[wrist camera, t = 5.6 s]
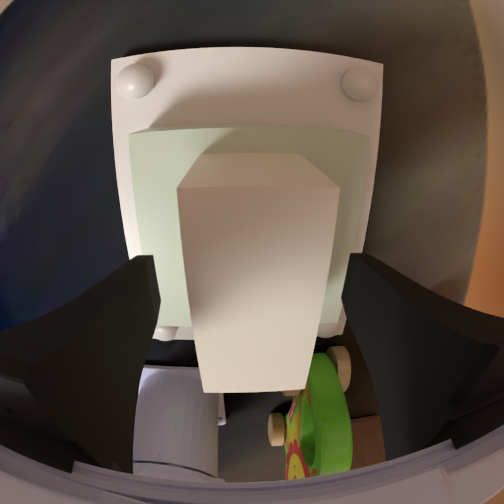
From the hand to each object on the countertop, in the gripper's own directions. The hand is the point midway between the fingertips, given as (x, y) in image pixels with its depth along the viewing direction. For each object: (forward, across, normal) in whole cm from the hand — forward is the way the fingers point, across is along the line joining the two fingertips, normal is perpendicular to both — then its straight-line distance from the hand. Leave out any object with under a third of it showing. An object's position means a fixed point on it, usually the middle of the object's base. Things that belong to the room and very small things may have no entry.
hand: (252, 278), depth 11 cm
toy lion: (+7, -5, +18) cm, 20 cm away
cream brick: (+3, 0, 0) cm, 3 cm away
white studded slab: (+7, 0, 0) cm, 7 cm away
